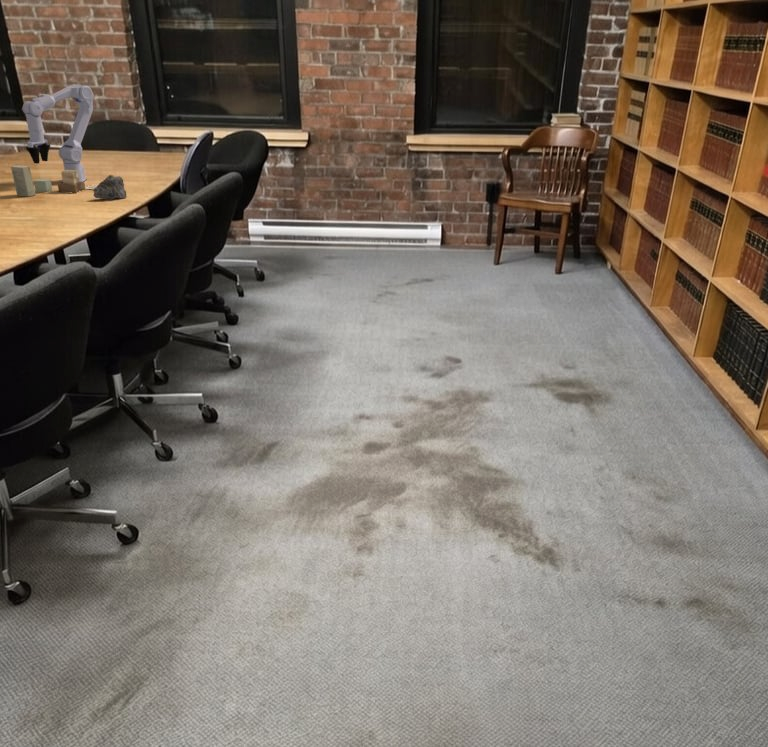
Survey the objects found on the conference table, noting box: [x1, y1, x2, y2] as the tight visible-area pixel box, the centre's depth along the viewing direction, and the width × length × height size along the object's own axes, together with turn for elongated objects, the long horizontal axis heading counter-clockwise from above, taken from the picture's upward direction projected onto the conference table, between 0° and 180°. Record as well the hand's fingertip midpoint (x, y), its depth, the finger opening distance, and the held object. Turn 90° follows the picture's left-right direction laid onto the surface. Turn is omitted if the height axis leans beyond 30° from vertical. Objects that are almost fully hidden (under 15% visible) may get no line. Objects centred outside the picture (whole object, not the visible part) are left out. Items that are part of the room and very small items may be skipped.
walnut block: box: [57, 181, 86, 194], centre depth 295 cm, size 8×8×4 cm
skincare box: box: [10, 164, 36, 197], centre depth 281 cm, size 6×4×12 cm
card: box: [85, 184, 97, 190], centre depth 304 cm, size 10×7×1 cm
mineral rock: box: [92, 174, 127, 200], centre depth 284 cm, size 13×11×10 cm
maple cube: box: [60, 170, 79, 184], centre depth 293 cm, size 5×5×5 cm
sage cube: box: [33, 178, 53, 193], centre depth 291 cm, size 5×5×5 cm
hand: (40, 162), depth 298 cm, fingers open, 7 cm apart
